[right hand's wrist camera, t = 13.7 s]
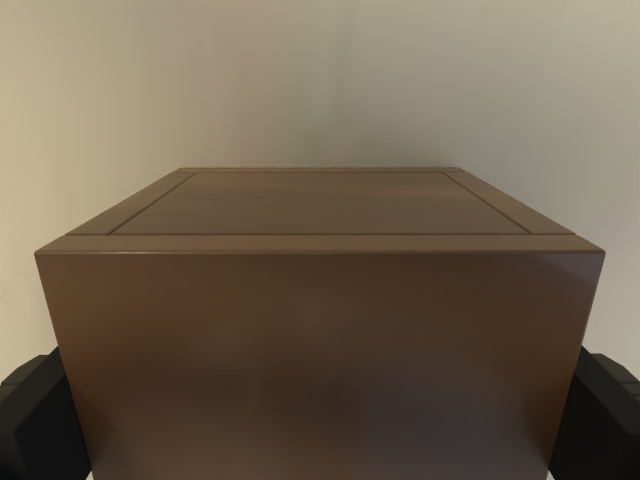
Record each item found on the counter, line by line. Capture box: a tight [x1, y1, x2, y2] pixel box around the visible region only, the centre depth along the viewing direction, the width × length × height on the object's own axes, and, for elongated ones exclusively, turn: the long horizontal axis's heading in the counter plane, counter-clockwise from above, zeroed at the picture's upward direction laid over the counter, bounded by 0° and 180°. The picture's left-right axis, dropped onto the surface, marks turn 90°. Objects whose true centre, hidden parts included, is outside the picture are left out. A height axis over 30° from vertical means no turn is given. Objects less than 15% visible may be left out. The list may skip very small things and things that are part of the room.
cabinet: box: [34, 168, 605, 480], centre depth 15 cm, size 19×11×8 cm, turn 0°
